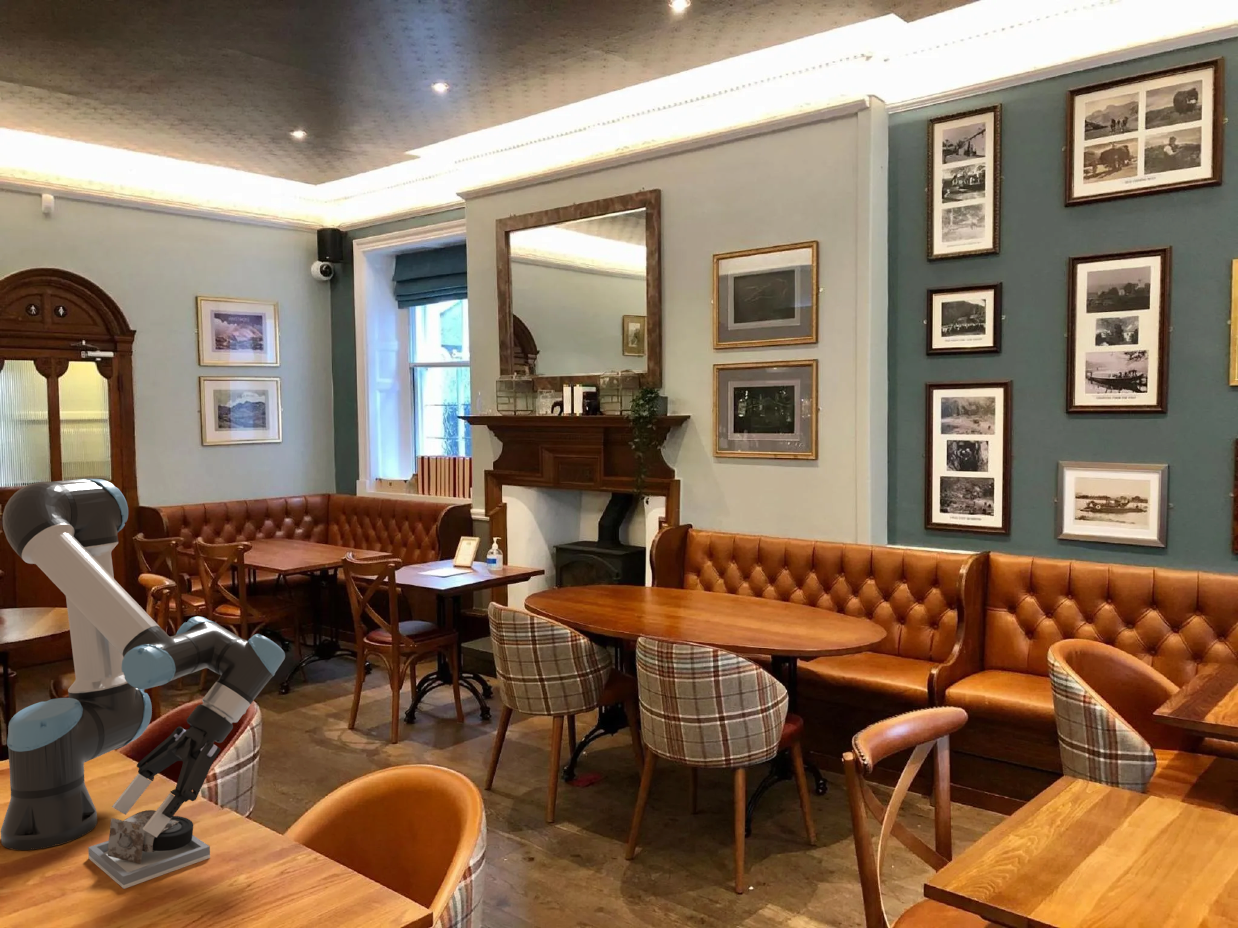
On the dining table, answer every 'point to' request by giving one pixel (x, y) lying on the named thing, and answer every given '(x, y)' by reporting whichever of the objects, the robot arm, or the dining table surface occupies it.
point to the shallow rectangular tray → (148, 862)
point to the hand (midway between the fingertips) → (133, 821)
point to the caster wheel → (146, 836)
